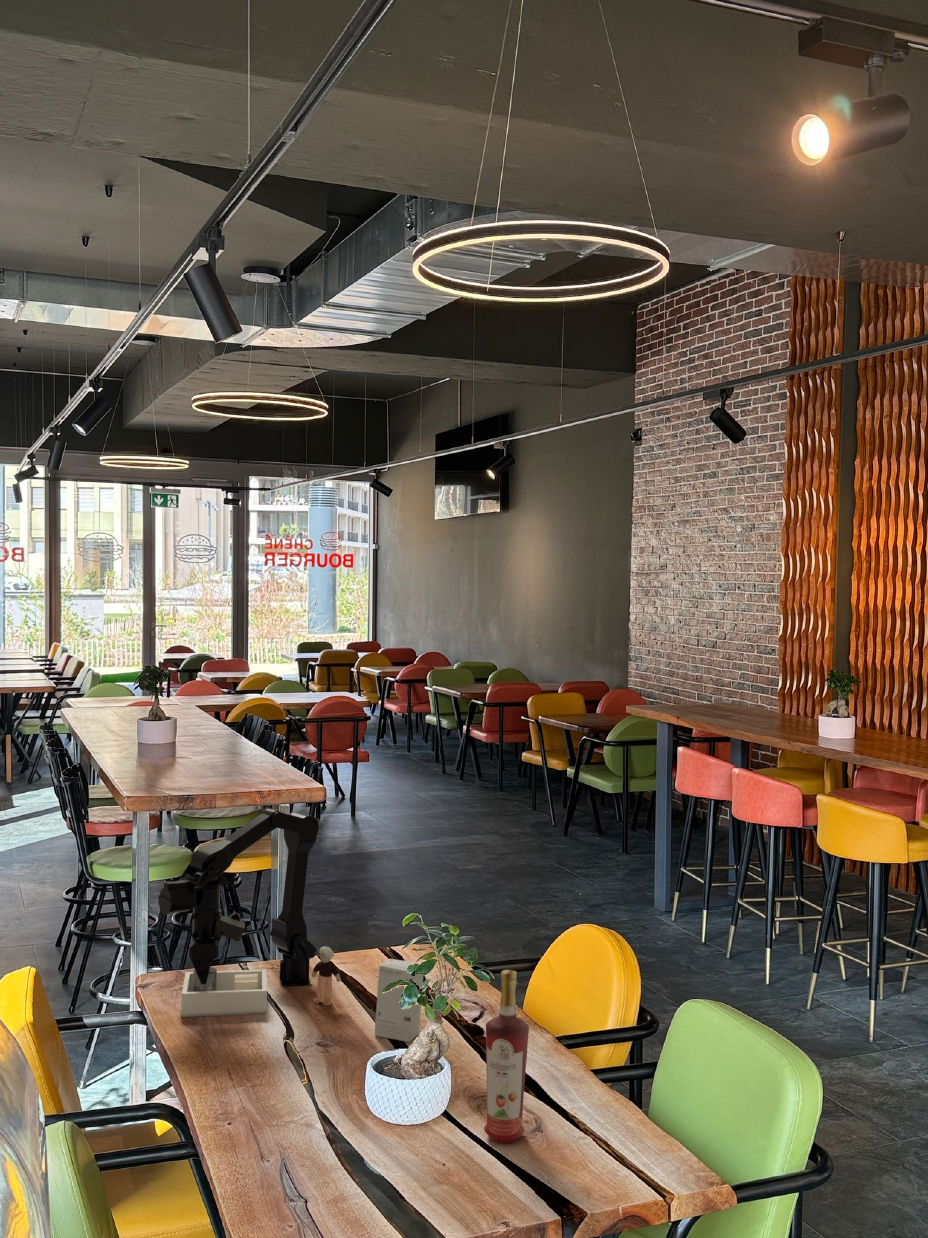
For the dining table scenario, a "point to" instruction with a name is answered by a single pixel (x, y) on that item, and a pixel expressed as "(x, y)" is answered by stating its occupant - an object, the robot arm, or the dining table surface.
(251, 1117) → the dining table surface
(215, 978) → the metal cylinder
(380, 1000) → the skincare box
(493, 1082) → the liquor
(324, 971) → the grandmother figurine
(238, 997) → the tote
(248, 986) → the wood cube
